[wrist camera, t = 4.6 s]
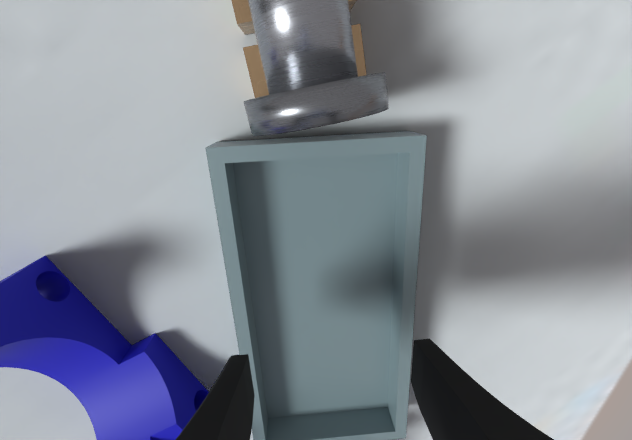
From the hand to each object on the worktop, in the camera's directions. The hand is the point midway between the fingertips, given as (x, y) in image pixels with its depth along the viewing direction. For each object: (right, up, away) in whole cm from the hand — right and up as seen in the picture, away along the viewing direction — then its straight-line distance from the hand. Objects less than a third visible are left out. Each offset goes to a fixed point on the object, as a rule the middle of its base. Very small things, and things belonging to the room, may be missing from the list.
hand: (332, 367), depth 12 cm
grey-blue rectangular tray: (0, +2, +4) cm, 5 cm away
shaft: (-1, +12, 0) cm, 12 cm away
